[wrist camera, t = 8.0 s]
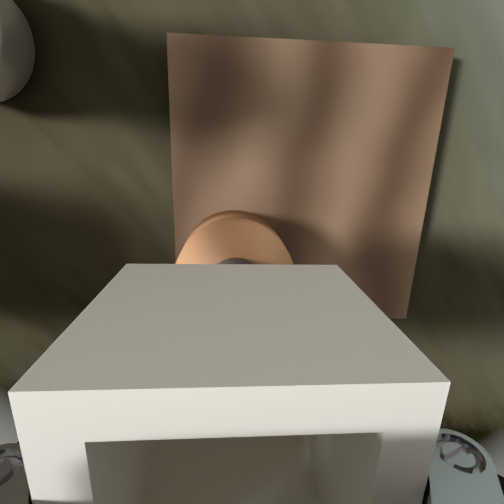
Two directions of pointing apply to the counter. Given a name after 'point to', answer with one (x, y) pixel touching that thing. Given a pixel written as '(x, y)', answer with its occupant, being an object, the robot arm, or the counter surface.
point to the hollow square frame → (229, 393)
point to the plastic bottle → (14, 50)
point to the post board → (305, 154)
